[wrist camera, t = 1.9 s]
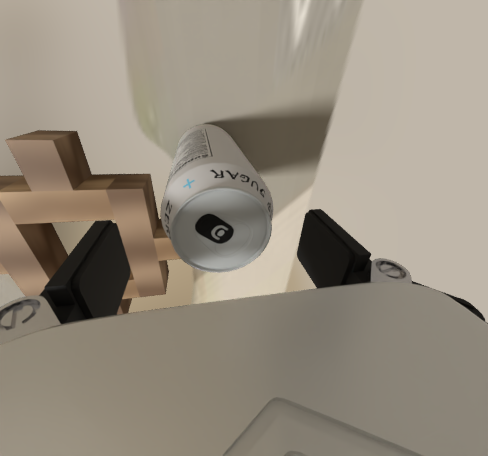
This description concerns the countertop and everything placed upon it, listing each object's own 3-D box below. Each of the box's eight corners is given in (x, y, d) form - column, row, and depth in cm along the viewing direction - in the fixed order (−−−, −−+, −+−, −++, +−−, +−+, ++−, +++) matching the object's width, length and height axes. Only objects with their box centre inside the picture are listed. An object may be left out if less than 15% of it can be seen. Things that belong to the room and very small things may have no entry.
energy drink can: (212, 191, 25) (230, 294, 13) (165, 158, 22) (129, 249, 10) (247, 150, 23) (307, 222, 11) (200, 107, 20) (211, 141, 8)
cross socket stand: (-102, 127, 17) (-173, 137, 14) (185, 133, 21) (184, 142, 18) (32, 306, 29) (12, 334, 26) (199, 288, 33) (200, 310, 30)
